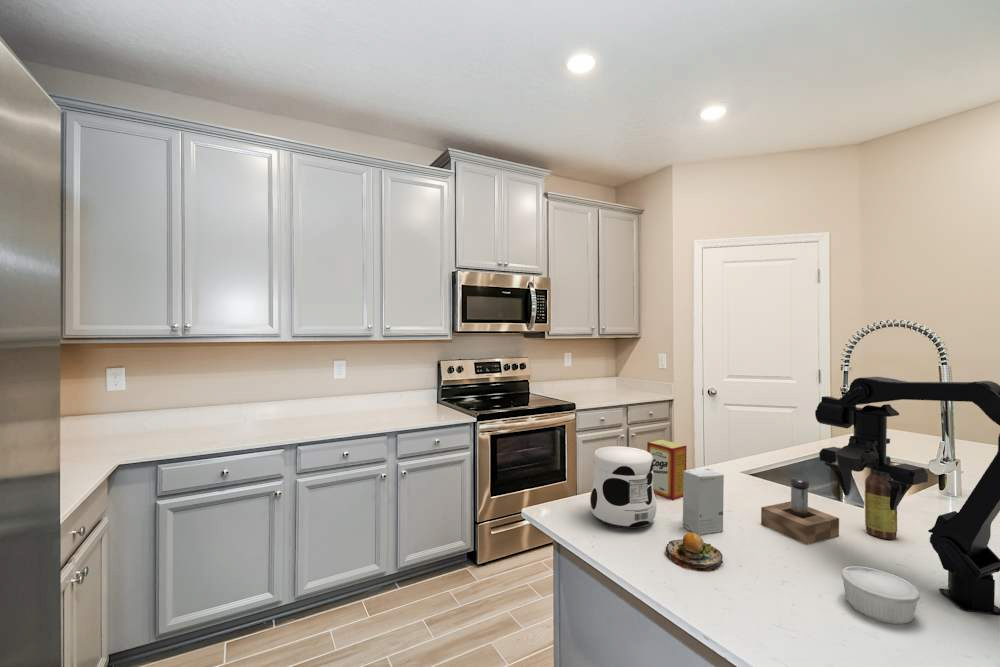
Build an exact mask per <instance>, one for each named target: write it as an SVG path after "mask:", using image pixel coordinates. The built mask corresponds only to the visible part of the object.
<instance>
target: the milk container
mask: <svg viewBox="0 0 1000 667" xmlns="http://www.w3.org/2000/svg"><path fill="white" fill-rule="evenodd" d="M591 488H592V489H591V491H590V495H589V496H590V497H589V503H590V509H591V513H592V514H593V516H594V517H595V518H596V519H597V520H598V521H600V522H602V523H603V524H606V525H608V526H613V527H616V528H623V529H639V528H643V527H646V526H648V525H649V524H651V523H652V522H653V521H654V519H656V518H655V517H656V513H657V499H656V494H654V491H653V457H652V455H651V454H650V453H649V452H647V450H645V449H641V448H637V447H630V446H624V445H623V446H620V445H618V446H616V445H612V446H603V447H599V448H597V449H596V450H594V455H593V484H592V487H591Z"/></svg>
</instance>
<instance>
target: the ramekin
mask: <svg viewBox="0 0 1000 667" xmlns="http://www.w3.org/2000/svg"><path fill="white" fill-rule="evenodd" d="M840 577H841V579H842V583H843V586H844V587H843V588H844V594H845V598H846V600H847V602H848V603H849V604H850V605H851V607H852V608H853V609H855V610H856V611H858V612H859V613H861V614H862V615H865V616H867V617H868V618H871V619H872V620H873V619H874V620H877V621H879V622H883V623H887V624H893V625H904V624H907V623H909V622H911V621H912V620H913V619H914V617H915V613H916V609H917V604H918V602H919V601H920V592H919V590H918V588H916V586H914V585H913V583H911V582H909V581H907V580H905V579H903V578H902V577H900V576H897V575H896V574H892V573H890V572H887V571H884V570H880V569H876V568H872V567H867V566H857V565H856V566H847V567H843V569H842V570H841V576H840Z"/></svg>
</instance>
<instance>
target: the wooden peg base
mask: <svg viewBox="0 0 1000 667" xmlns="http://www.w3.org/2000/svg"><path fill="white" fill-rule="evenodd" d="M760 511H761V513H760V524H761V525H762V526H764V527H766V528H769V529H771V530H773V531H775V532H778V533H779V534H782V535H784V536H786V537H789V538H791V539H793V540H794V541H797V542H800V543H802V544H804V545H805V546H807V545H810V544H814V543H818V542H822V541H825V539H826V540H830V539H833V537H834V538H837V537H839V536H840V518H839V517H837V516H834V515H831V514H829V513H826V512H824V511H821V510H818V509H816V508H812V507H810V506H808V518H803V519H802V518H800V517H797V516H795V515H792V514H791V500H790V501H787V502H786V501H785V502H781V503H776V504H772V505H765V506H762V507H761V510H760ZM836 536H837V537H836ZM829 538H830V539H829Z"/></svg>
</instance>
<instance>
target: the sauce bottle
mask: <svg viewBox="0 0 1000 667" xmlns="http://www.w3.org/2000/svg"><path fill="white" fill-rule="evenodd" d="M886 457H890V456H888V455H886ZM891 461H892V460H891V459H890V462H886V464H890V465H891ZM876 466H877V465H876ZM878 467H879V466H878ZM869 469H870V468H869ZM888 480H893V479H892V478H891V477H890V476H889V473H886V472H882V471H878V470H874V469H870V473H869V474H868V476H867V477H866V478H865V480H864V484H865V485H864V488H865V489H864V524H865V525H864V526H865V531H866V532H867V534H869V535H871V536H874V537H876V538H880V539H886V540H895V539H896V538H897V532H898V507H897V508H896V509H895V510H890V492H891V486H890V484H889V482H888Z"/></svg>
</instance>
